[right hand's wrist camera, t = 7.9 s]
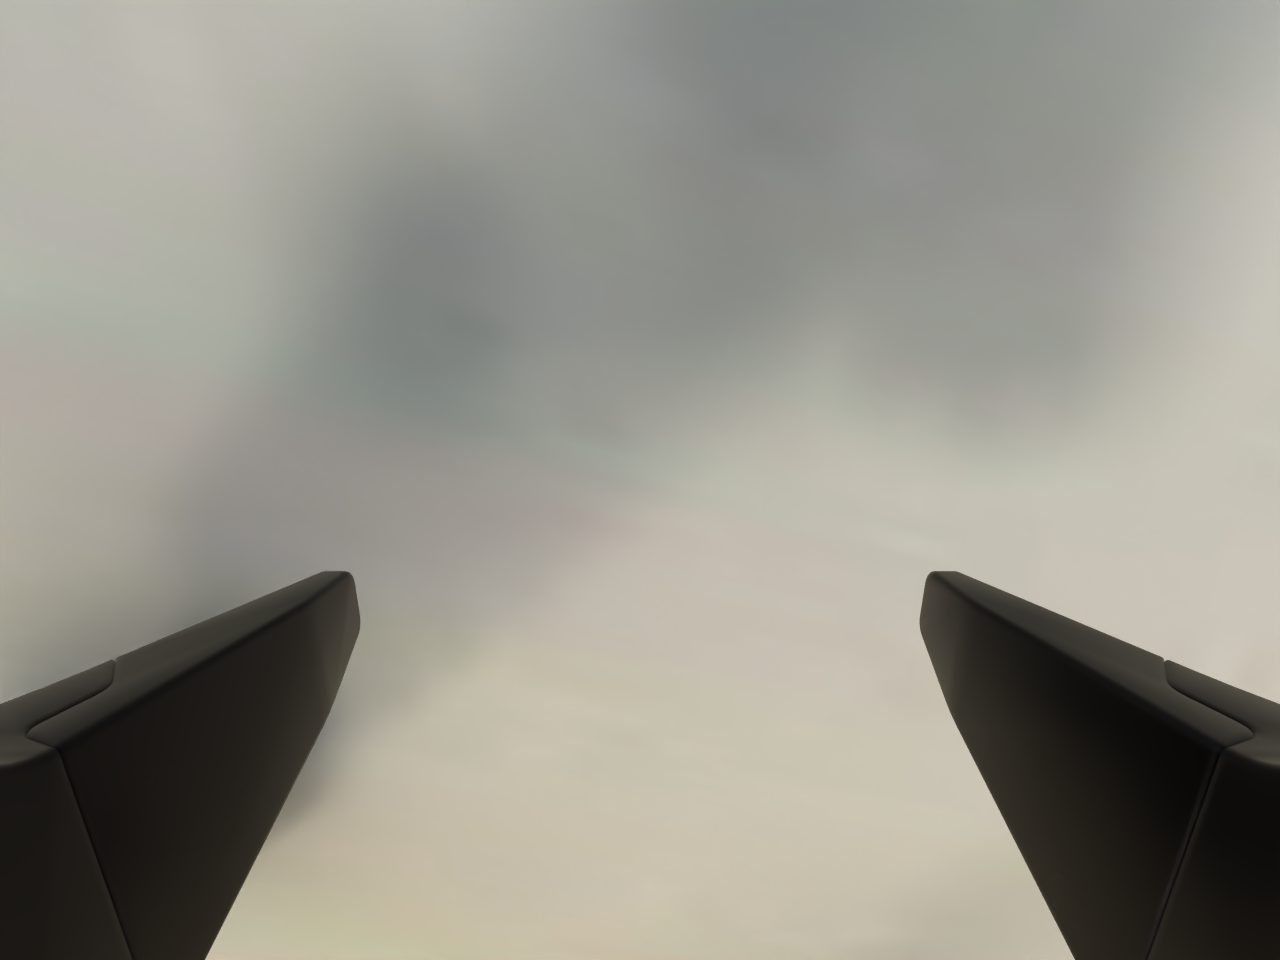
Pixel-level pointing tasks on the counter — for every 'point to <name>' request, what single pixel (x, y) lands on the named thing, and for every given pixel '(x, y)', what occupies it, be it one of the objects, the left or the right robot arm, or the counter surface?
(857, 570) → the counter surface
